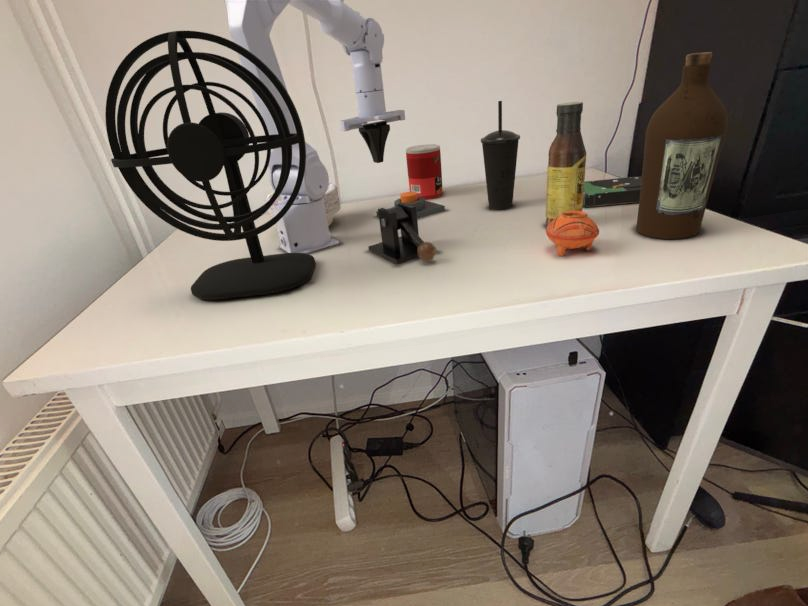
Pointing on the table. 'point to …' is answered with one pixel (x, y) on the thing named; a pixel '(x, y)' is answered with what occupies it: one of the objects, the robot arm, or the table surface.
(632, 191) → the disk drive
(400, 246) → the bracket
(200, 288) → the desk fan
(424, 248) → the lever
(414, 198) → the button
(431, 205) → the control block
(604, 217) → the table surface
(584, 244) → the pot
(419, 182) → the canned food
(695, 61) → the brown liquor bottle
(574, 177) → the sauce bottle
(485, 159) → the drinking cup
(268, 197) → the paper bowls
